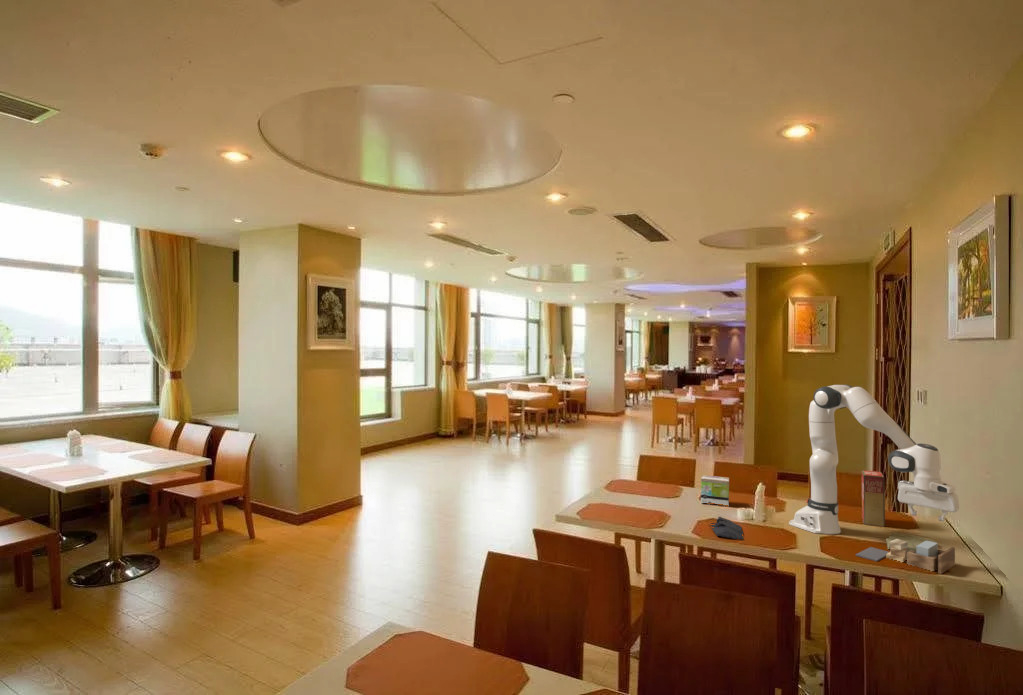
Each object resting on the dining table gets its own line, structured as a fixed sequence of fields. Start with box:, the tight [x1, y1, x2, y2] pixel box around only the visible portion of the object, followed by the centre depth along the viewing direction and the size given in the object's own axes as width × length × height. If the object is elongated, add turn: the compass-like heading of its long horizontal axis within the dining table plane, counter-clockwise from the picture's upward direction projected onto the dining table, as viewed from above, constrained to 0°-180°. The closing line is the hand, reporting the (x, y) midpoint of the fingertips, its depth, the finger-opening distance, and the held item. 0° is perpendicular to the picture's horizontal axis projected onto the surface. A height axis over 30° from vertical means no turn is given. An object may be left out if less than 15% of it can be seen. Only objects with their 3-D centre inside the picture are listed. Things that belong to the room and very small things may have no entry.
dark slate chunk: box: [710, 516, 745, 541], centre depth 263 cm, size 15×22×5 cm
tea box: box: [700, 474, 730, 506], centre depth 312 cm, size 15×10×15 cm
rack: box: [906, 546, 956, 575], centre depth 223 cm, size 12×16×7 cm
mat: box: [855, 546, 890, 562], centre depth 234 cm, size 8×15×1 cm, turn 126°
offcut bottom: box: [885, 551, 907, 563], centre depth 231 cm, size 6×10×2 cm, turn 127°
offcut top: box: [890, 539, 908, 550], centre depth 231 cm, size 4×6×2 cm, turn 121°
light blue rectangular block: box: [916, 541, 939, 557], centre depth 224 cm, size 4×11×8 cm, turn 126°
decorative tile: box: [885, 532, 937, 553], centre depth 243 cm, size 19×20×4 cm
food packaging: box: [861, 470, 886, 528], centre depth 279 cm, size 13×9×25 cm
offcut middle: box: [890, 547, 909, 558], centre depth 231 cm, size 5×8×2 cm, turn 136°
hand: (927, 517), depth 224 cm, fingers open, 8 cm apart
